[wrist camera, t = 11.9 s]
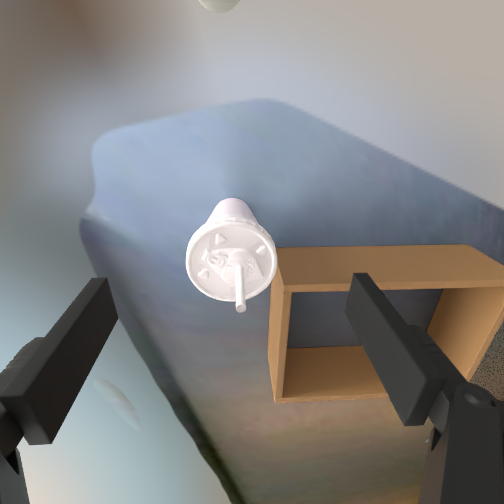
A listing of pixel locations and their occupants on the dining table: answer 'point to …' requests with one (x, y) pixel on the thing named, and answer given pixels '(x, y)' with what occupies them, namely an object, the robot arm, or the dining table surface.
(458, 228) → the dining table surface
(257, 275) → the smoothie
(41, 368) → the robot arm
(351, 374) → the wooden box
